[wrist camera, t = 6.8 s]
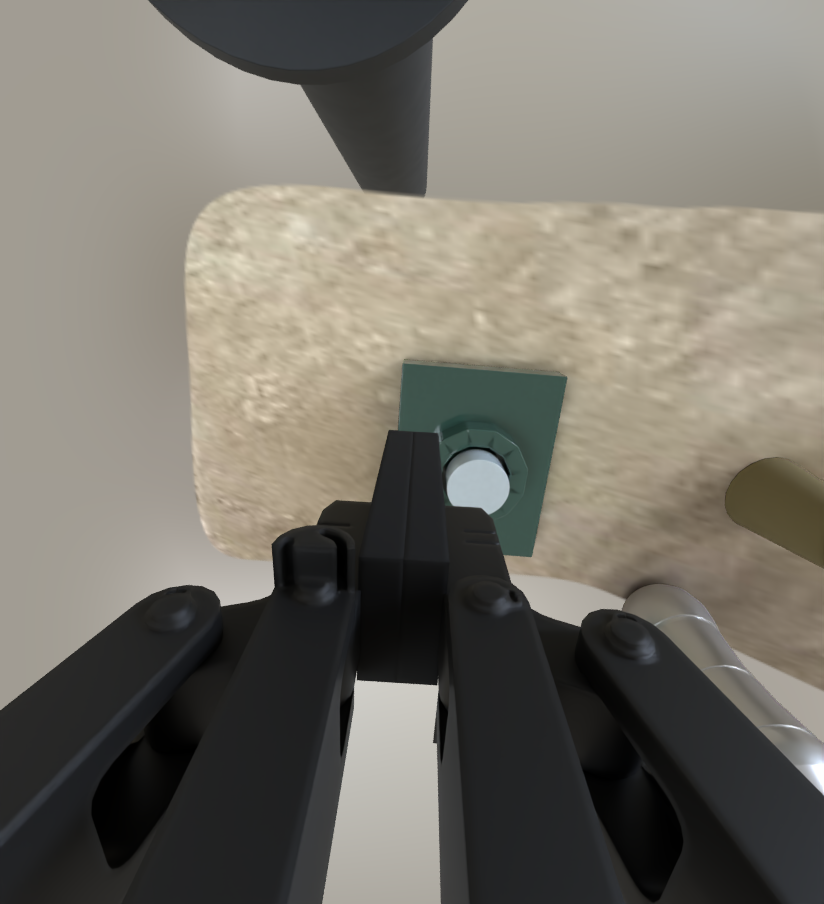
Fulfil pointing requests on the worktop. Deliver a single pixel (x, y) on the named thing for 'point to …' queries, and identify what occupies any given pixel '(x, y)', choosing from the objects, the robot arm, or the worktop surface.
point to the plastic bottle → (728, 672)
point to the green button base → (490, 430)
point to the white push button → (477, 481)
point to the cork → (780, 506)
